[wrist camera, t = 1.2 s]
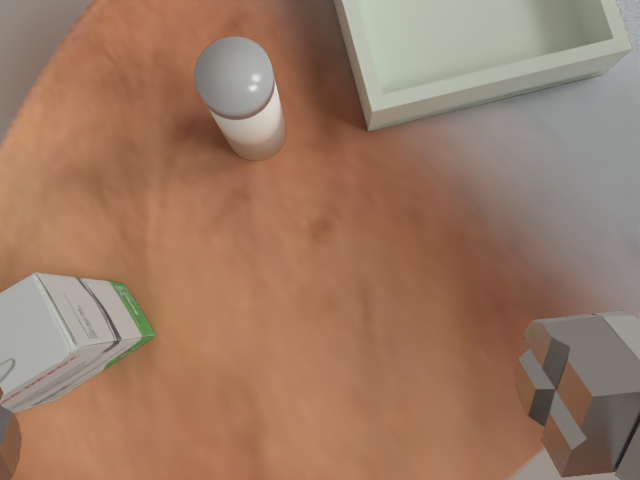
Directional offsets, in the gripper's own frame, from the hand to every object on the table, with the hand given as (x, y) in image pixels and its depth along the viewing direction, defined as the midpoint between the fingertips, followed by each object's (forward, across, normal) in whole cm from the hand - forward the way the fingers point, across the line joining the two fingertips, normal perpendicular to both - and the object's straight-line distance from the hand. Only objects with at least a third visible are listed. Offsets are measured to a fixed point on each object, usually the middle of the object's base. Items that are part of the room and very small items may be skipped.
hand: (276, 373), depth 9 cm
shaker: (+32, 0, +9) cm, 34 cm away
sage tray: (+38, -16, +1) cm, 41 cm away
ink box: (+24, +13, +21) cm, 35 cm away
